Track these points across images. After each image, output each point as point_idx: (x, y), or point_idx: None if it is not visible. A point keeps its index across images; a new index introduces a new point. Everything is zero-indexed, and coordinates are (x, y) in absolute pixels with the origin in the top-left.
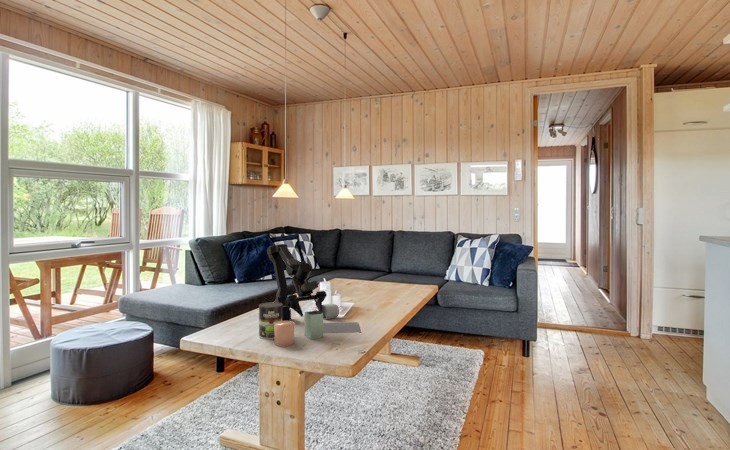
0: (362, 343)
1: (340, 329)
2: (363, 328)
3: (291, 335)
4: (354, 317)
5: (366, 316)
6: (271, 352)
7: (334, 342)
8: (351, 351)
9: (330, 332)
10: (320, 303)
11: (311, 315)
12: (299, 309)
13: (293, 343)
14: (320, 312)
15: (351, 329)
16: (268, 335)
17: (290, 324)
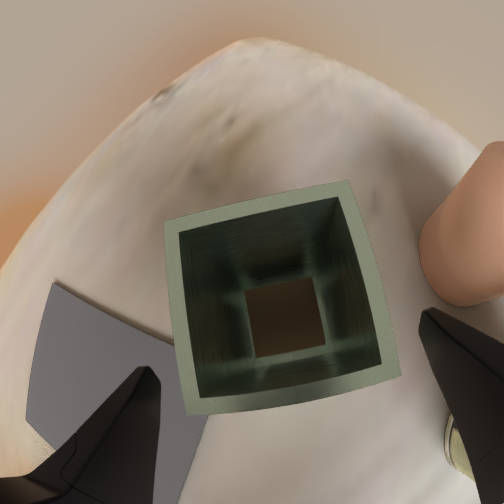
0: (114, 160)
1: (99, 374)
2: (28, 342)
3: (455, 186)
4: None
5: (4, 459)
6: None
7: (203, 197)
8: (192, 98)
9: (161, 353)
10: (73, 456)
11: (335, 186)
12: (498, 342)
13: (425, 224)
14: (177, 270)
15: (62, 342)
16: None
17: (493, 154)
